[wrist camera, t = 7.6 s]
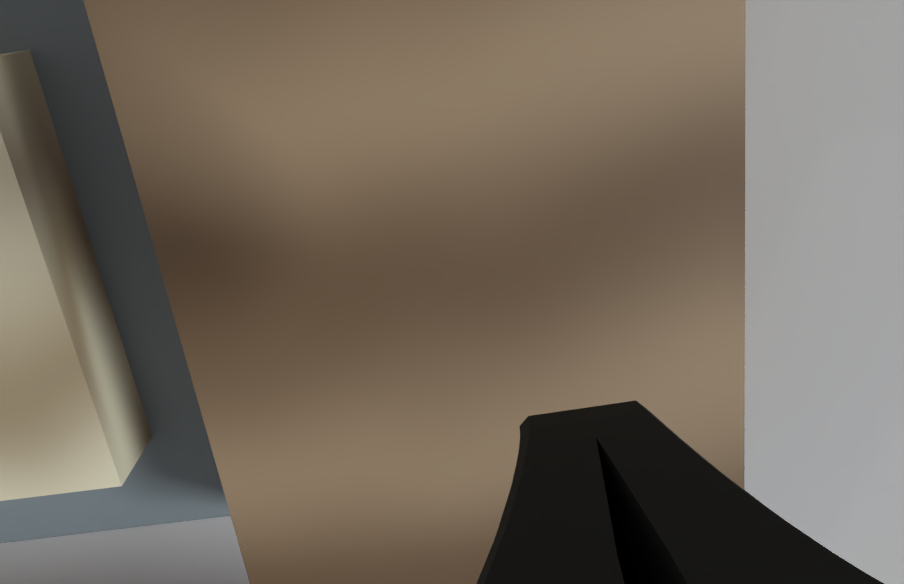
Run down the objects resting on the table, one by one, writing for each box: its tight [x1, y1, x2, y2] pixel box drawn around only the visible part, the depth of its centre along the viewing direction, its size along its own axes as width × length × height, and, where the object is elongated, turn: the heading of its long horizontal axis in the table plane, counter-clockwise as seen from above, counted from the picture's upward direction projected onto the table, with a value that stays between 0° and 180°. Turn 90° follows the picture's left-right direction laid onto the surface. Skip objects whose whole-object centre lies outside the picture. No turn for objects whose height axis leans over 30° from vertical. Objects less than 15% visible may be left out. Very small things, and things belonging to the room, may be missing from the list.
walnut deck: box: [83, 0, 745, 584], centre depth 16 cm, size 14×10×4 cm
